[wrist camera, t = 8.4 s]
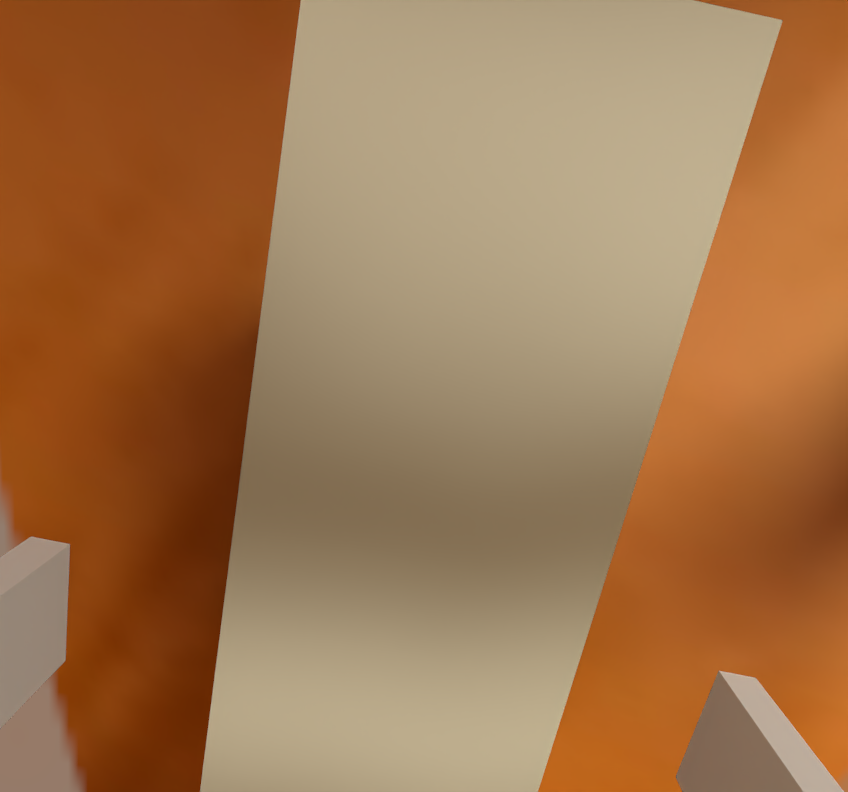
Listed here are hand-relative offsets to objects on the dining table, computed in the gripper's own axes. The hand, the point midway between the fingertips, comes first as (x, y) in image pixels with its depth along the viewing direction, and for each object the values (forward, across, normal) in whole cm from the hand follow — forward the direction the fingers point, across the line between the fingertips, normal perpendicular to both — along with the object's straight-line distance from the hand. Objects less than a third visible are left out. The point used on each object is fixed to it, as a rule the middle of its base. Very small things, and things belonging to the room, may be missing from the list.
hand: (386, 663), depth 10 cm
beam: (+1, 0, -1) cm, 1 cm away
